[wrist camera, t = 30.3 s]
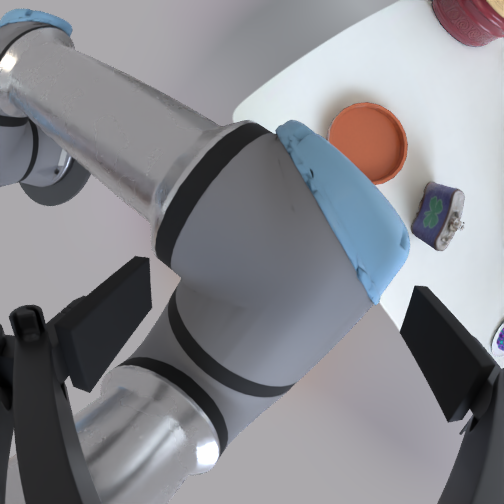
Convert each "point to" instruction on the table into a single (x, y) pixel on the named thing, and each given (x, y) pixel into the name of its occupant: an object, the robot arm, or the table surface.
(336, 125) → the terracotta plant saucer
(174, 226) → the robot arm
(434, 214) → the flask
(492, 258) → the table surface
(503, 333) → the pudding
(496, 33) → the kitchen canister
